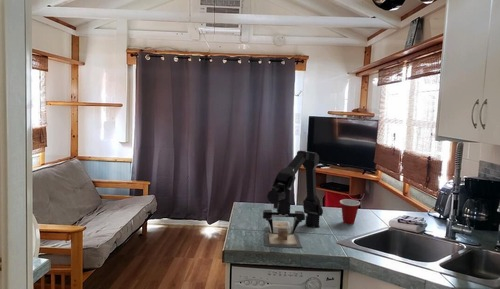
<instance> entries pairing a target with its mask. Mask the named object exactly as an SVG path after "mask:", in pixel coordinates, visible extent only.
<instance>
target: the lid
mask: <svg viewBox="0 0 500 289" xmlns="http://www.w3.org/2000/svg"><path fill="white" fill-rule="evenodd" d="M268 234H269V242H270V244H283V245H297V242H296V239H295V236H294V235H295V234H288V231H287V229H280V228H278V233H268Z"/></svg>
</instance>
